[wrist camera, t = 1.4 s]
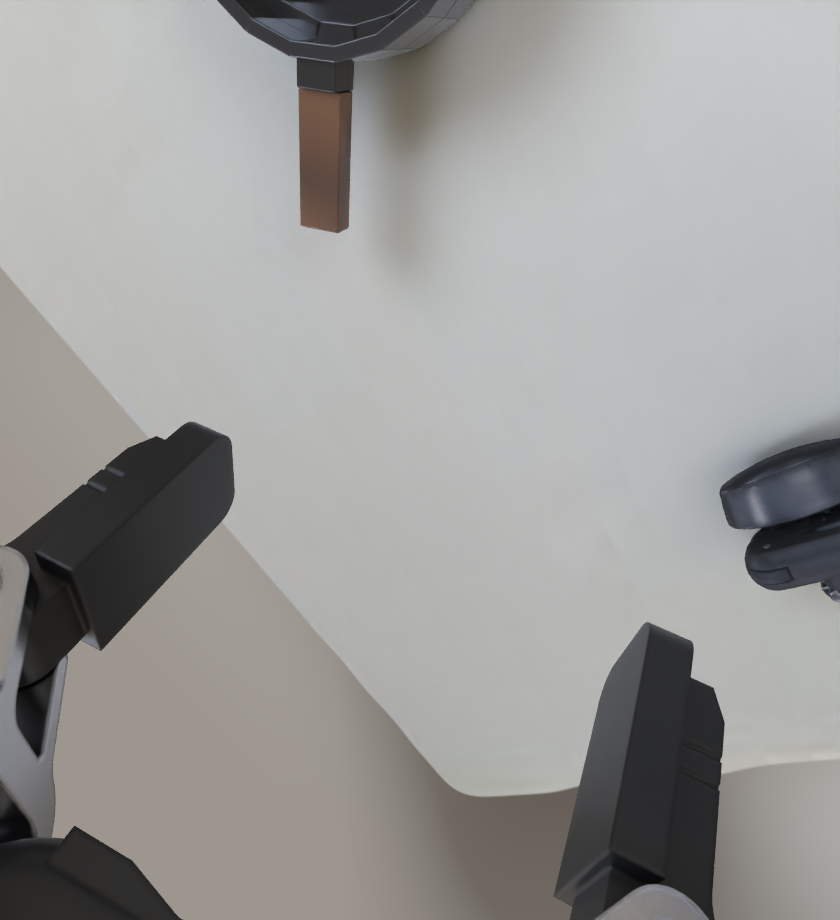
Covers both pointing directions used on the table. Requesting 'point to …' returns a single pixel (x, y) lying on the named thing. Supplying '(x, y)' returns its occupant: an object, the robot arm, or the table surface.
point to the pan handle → (325, 142)
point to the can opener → (790, 517)
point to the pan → (345, 25)
